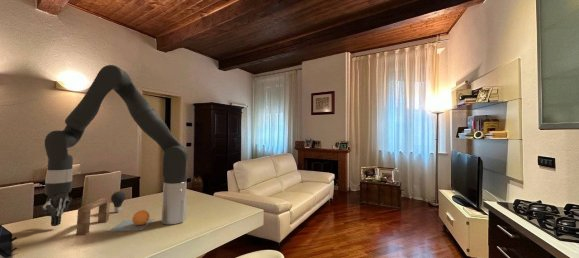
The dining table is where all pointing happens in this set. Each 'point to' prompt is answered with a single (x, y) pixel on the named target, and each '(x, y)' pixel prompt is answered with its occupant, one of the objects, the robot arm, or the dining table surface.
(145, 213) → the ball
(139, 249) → the dining table surface
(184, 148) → the robot arm
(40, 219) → the dining table surface
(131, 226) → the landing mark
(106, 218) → the bridge
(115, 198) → the light bulb
